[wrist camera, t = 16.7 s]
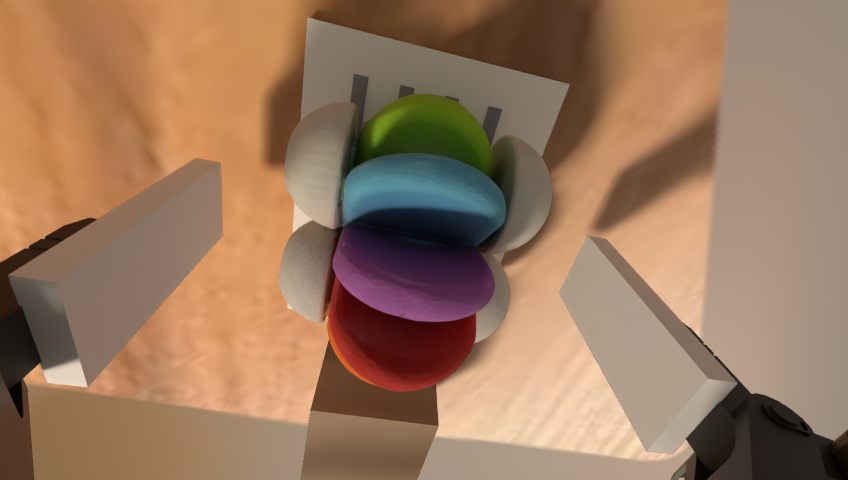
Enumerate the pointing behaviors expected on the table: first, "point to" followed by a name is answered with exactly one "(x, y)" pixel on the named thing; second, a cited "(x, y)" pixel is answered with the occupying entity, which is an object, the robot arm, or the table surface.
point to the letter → (423, 85)
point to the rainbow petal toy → (407, 233)
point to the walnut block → (366, 428)
